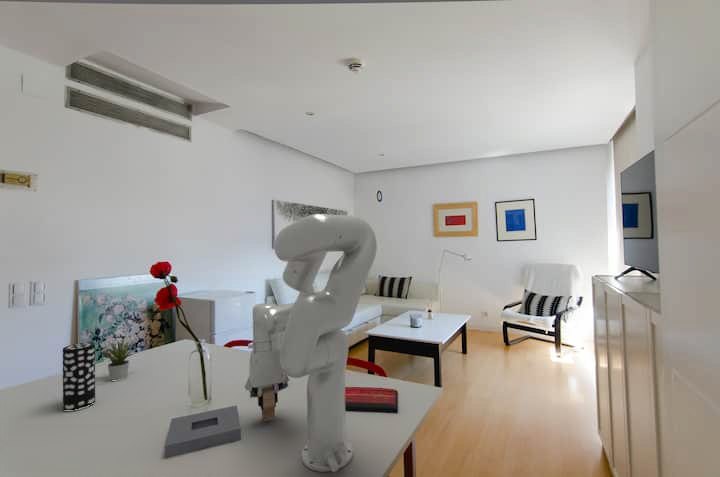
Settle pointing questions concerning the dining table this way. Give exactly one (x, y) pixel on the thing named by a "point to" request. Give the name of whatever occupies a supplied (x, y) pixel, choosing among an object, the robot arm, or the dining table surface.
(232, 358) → the dining table surface
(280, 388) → the curved wedge
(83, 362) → the spotted tube
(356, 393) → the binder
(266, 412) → the keyed peg
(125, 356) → the house plant
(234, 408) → the socket plate
